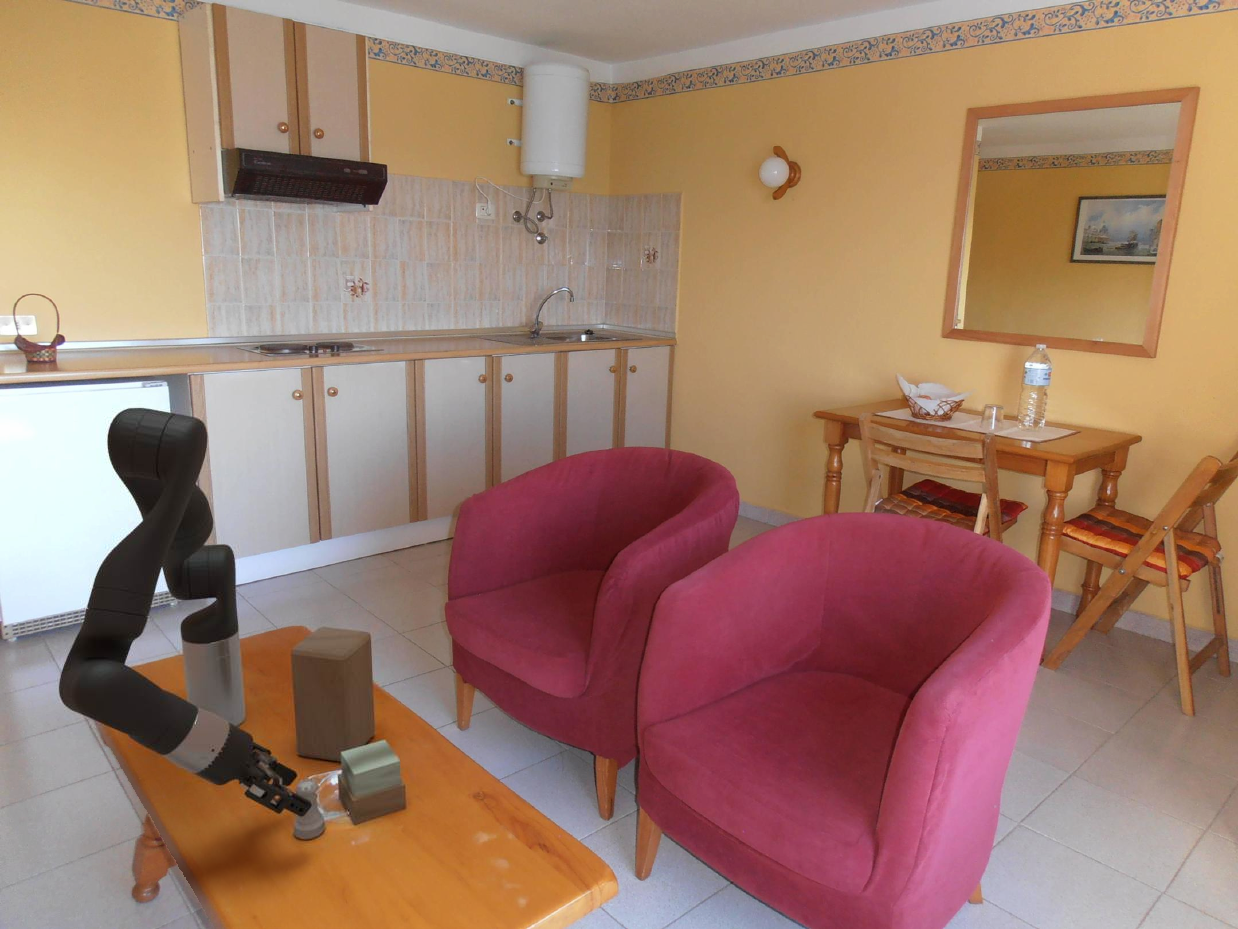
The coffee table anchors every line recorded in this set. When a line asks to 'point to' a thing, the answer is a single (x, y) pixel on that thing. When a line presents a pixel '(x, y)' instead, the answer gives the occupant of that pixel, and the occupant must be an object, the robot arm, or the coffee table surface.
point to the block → (333, 692)
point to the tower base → (371, 802)
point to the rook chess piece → (309, 812)
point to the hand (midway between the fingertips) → (299, 794)
